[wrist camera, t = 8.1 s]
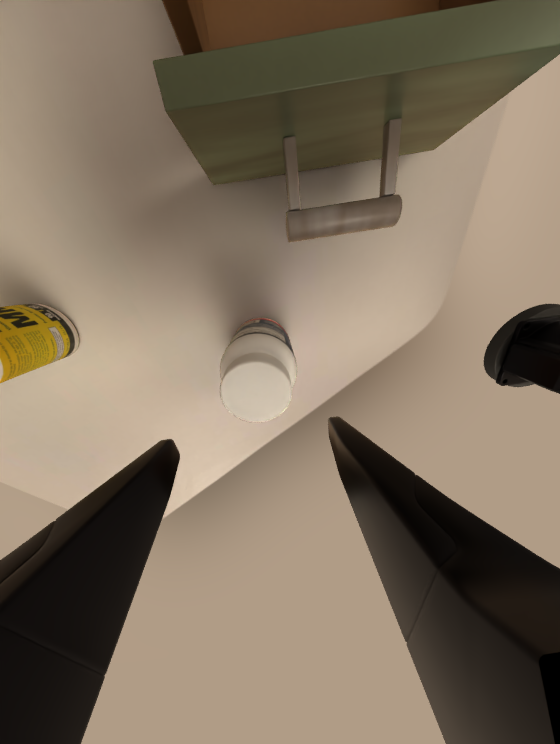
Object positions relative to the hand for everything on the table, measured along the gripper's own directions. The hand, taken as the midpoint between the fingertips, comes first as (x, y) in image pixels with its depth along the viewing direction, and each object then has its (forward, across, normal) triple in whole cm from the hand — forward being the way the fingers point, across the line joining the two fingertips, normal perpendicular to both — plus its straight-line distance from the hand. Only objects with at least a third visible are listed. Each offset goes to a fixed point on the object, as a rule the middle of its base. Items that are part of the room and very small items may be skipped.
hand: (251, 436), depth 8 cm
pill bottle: (+12, 0, 0) cm, 12 cm away
